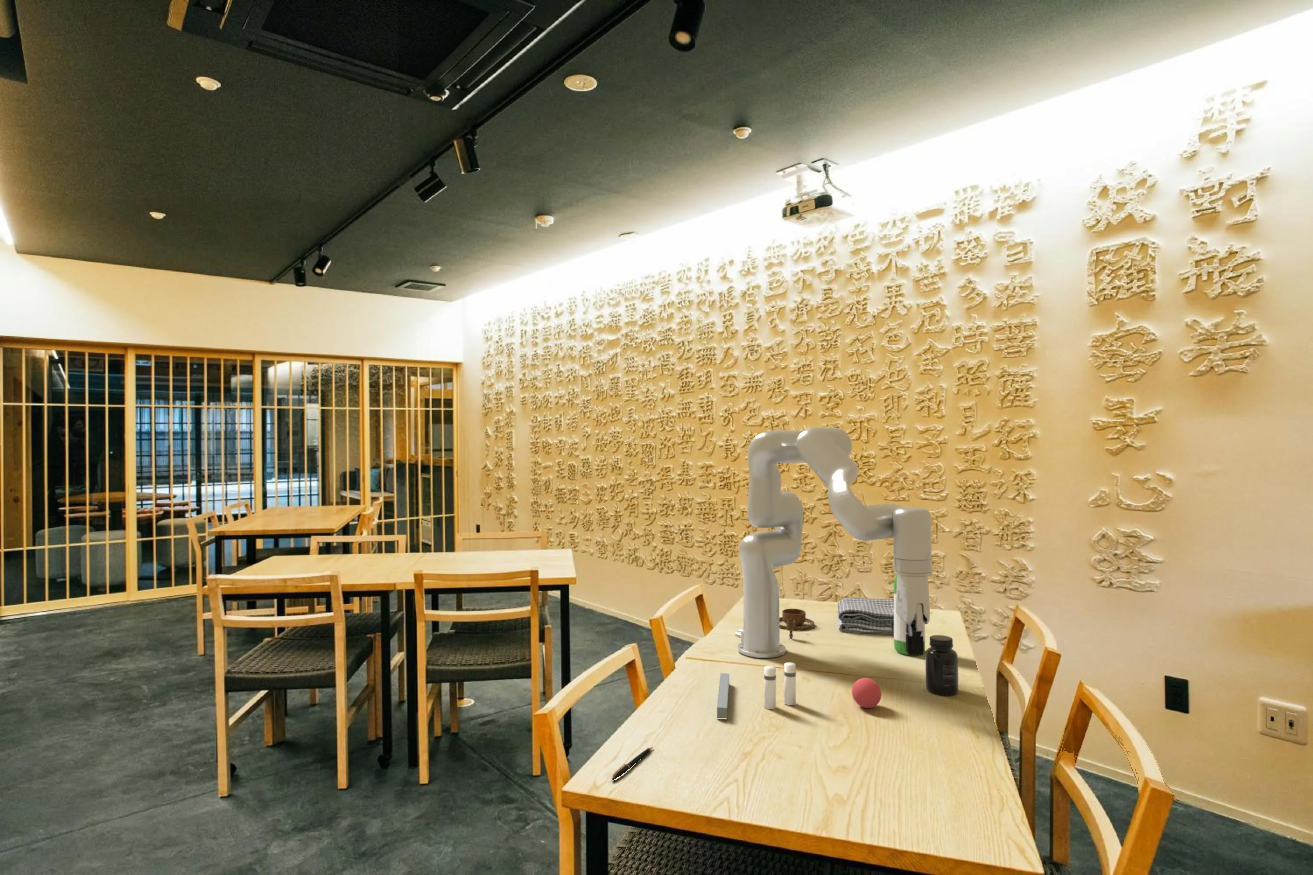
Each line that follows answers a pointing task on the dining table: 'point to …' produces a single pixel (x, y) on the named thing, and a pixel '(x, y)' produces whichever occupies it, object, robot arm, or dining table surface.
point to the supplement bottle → (941, 666)
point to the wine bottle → (901, 629)
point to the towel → (866, 615)
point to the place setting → (794, 620)
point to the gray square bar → (723, 696)
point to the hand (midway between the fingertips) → (914, 653)
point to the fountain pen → (630, 764)
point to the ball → (866, 693)
